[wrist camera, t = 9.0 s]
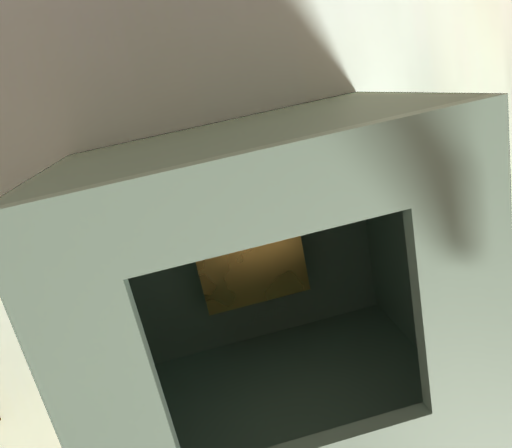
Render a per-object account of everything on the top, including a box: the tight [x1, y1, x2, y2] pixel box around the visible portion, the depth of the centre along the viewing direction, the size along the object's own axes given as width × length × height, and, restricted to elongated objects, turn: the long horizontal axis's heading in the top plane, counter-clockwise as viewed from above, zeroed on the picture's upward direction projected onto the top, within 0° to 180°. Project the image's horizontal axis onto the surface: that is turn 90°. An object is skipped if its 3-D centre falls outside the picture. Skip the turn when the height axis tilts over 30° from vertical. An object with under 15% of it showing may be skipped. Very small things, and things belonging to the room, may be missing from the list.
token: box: [196, 236, 310, 316], centre depth 23 cm, size 5×5×2 cm
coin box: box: [0, 92, 512, 448], centre depth 19 cm, size 14×12×11 cm
